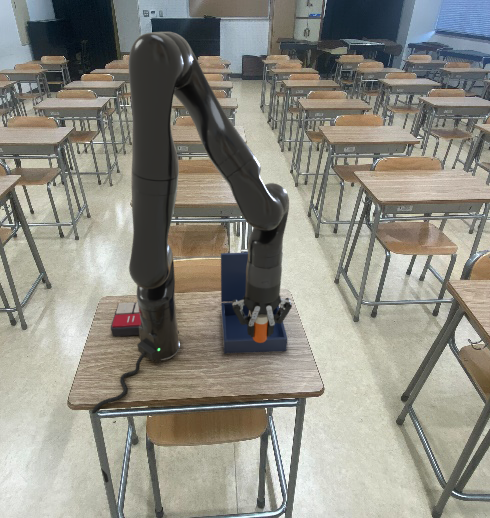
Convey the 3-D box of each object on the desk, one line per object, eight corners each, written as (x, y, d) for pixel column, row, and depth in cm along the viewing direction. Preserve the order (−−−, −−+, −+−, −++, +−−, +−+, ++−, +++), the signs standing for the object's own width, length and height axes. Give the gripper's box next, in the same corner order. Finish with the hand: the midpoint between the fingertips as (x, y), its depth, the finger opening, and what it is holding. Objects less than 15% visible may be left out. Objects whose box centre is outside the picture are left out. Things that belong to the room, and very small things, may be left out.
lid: (282, 253, 106) (279, 242, 111) (220, 254, 106) (220, 244, 110) (278, 300, 115) (275, 288, 120) (221, 302, 115) (220, 290, 119)
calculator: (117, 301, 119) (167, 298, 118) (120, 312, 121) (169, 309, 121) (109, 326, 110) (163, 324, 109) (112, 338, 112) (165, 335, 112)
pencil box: (285, 353, 106) (287, 339, 103) (223, 355, 105) (223, 341, 102) (276, 314, 119) (277, 300, 116) (221, 316, 118) (221, 302, 115)
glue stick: (261, 345, 93) (263, 320, 89) (249, 338, 95) (250, 313, 90) (269, 336, 95) (271, 311, 91) (257, 330, 97) (259, 305, 93)
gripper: (231, 288, 82) (231, 347, 91) (299, 285, 82) (292, 344, 91) (229, 267, 88) (229, 324, 97) (292, 265, 88) (286, 322, 98)
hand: (260, 334), depth 94 cm, fingers closed on glue stick, 3 cm apart
